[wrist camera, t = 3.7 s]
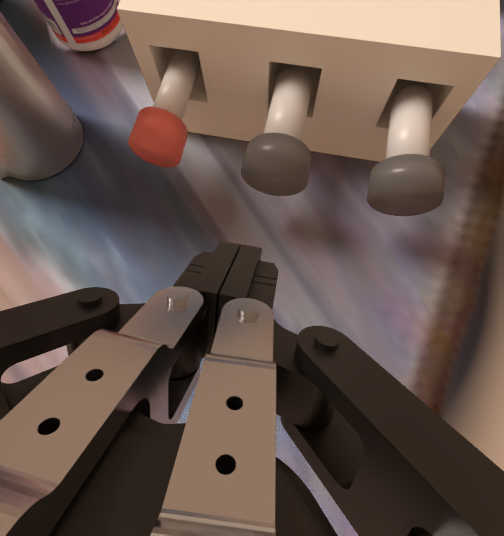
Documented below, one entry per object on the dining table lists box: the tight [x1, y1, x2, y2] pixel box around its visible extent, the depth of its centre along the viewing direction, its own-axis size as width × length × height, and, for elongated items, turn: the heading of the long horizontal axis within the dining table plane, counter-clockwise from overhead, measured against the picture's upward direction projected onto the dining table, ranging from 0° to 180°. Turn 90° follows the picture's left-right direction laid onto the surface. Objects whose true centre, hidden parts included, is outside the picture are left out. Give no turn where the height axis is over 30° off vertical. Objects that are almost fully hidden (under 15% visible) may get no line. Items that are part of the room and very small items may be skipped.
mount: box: [117, 0, 501, 162], centre depth 29 cm, size 9×26×12 cm, turn 78°
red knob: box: [128, 49, 200, 167], centre depth 27 cm, size 9×4×4 cm, turn 168°
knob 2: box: [367, 85, 445, 216], centre depth 25 cm, size 9×5×5 cm, turn 168°
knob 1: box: [241, 68, 312, 196], centre depth 26 cm, size 9×5×5 cm, turn 168°
